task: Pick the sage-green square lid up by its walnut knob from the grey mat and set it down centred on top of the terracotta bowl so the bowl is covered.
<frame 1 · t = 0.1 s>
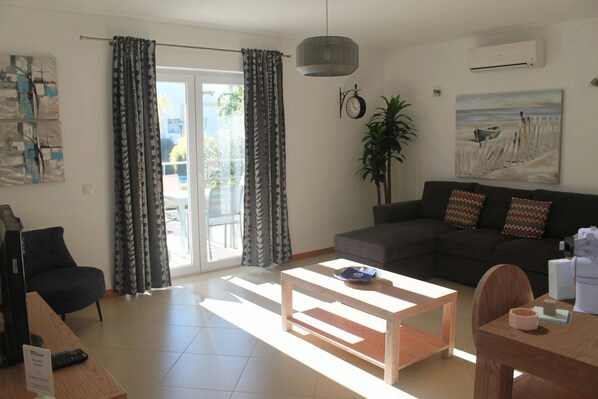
hand: (588, 252, 134), 22 cm above the table, tool horizontal, fingers open, 7 cm apart
sage lid: (549, 316, 148), resting on grey mat
terracotta bowl: (523, 326, 142), on the table
grey mat: (549, 317, 148), on the table
skincare box: (561, 299, 163), on the table, touching arm
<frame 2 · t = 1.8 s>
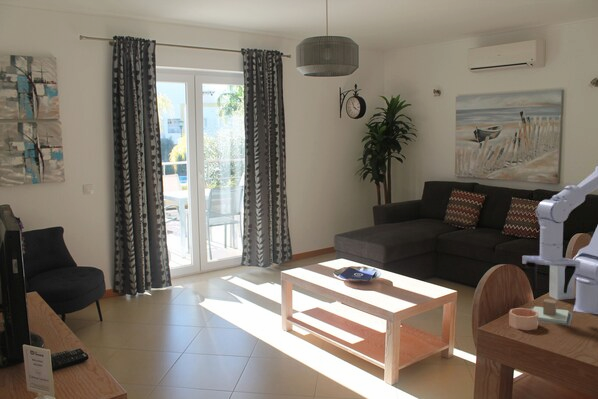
hand: (550, 290, 147), 8 cm above the table, tool pointing down, fingers open, 7 cm apart
skincare box: (561, 299, 163), on the table
everything else where it was.
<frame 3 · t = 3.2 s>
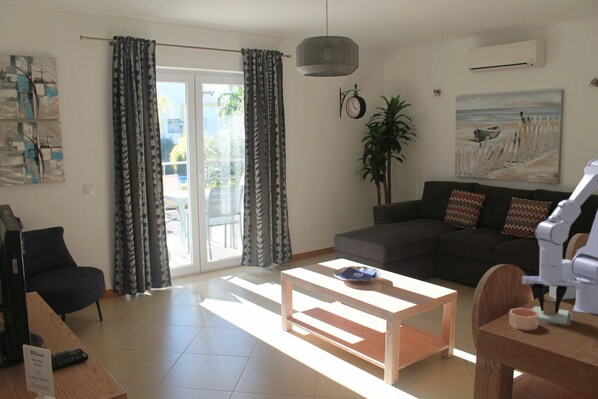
hand: (549, 310, 148), 2 cm above the table, tool pointing down, fingers closed on sage lid, 3 cm apart
sage lid: (549, 316, 148), resting on grey mat, touching gripper
everything else where it was.
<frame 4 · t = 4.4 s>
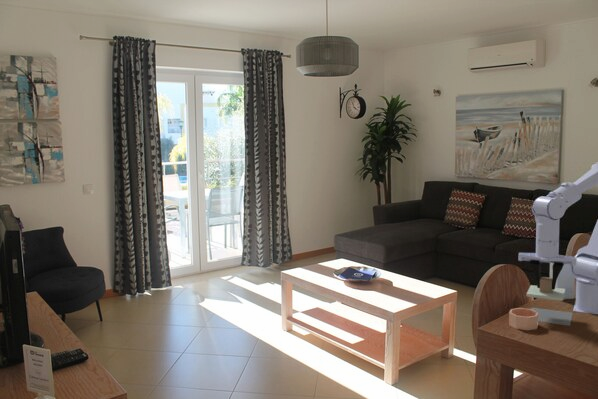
hand: (546, 287, 146), 9 cm above the table, tool pointing down, fingers closed on sage lid, 3 cm apart
sage lid: (546, 294, 146), point 7 cm above the table, touching gripper
everything else where it was.
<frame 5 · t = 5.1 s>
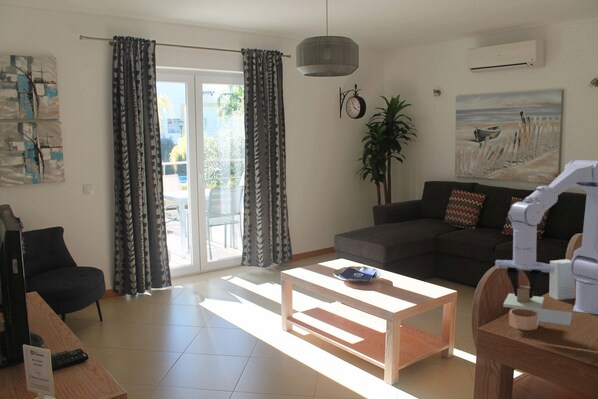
hand: (523, 296, 141), 9 cm above the table, tool pointing down, fingers closed on sage lid, 3 cm apart
sage lid: (523, 303, 142), point 7 cm above the table, touching gripper
everything else where it was.
when the fingers open (6 cm above the table, at t = 5.7 s): sage lid stays where it is, resting on terracotta bowl.
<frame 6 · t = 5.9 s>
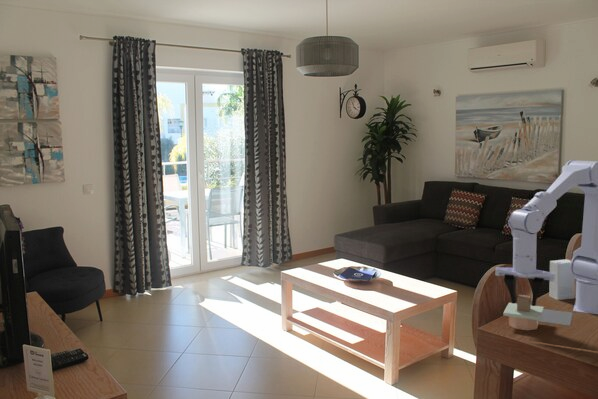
hand: (523, 303, 142), 7 cm above the table, tool pointing down, fingers open, 4 cm apart
sage lid: (523, 312, 142), point 4 cm above the table, touching terracotta bowl
everything else where it was.
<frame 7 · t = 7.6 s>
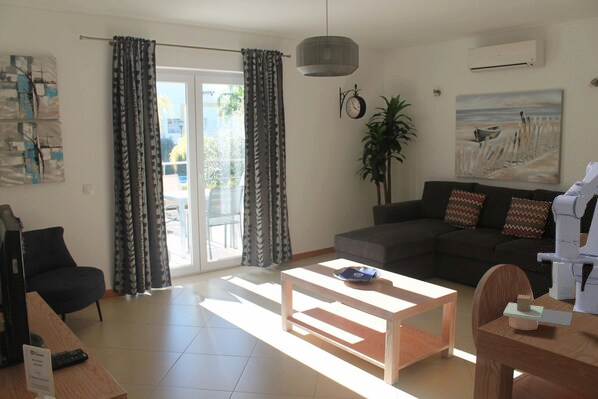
hand: (566, 288, 142), 10 cm above the table, tool pointing down, fingers open, 7 cm apart
nothing on the table moved.
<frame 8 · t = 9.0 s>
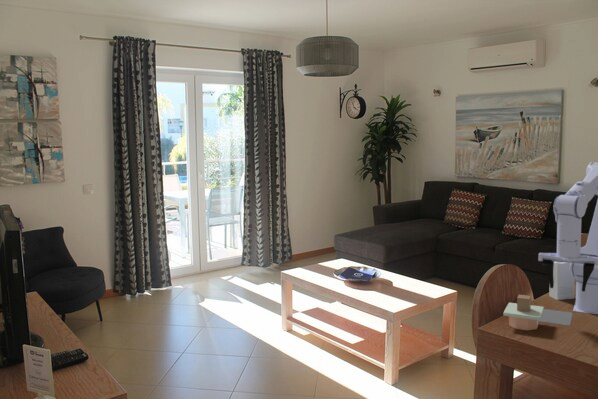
hand: (567, 288, 142), 10 cm above the table, tool pointing down, fingers open, 7 cm apart
nothing on the table moved.
at the end: sage lid 0.1 cm off-centre on the terracotta bowl, point 4.0 cm above the terracotta bowl's base; sage lid tilted 0°; the gripper is holding nothing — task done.
